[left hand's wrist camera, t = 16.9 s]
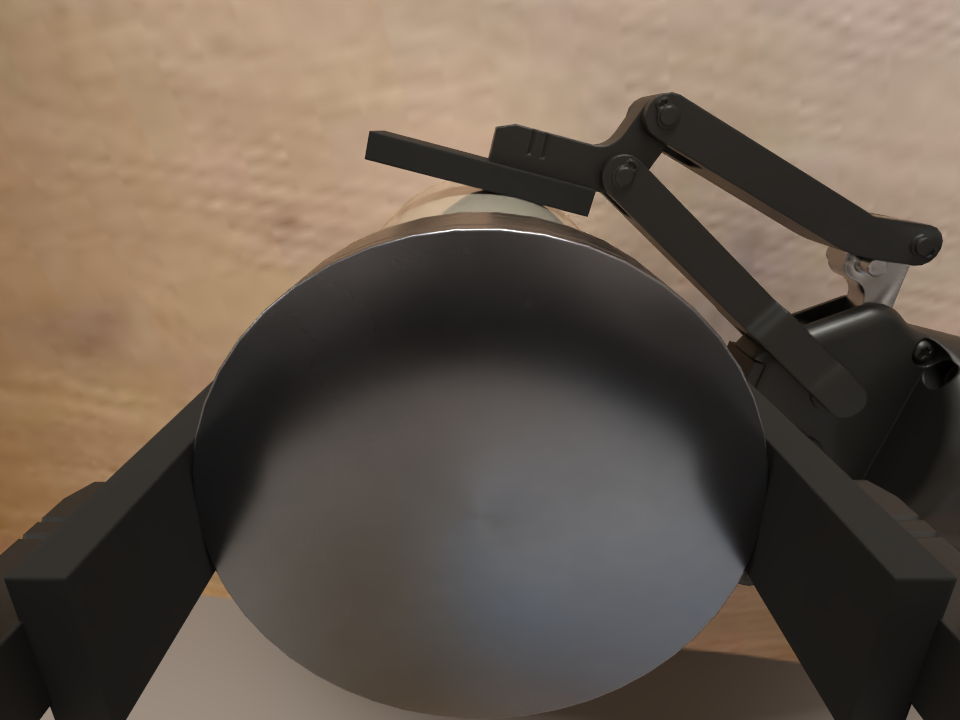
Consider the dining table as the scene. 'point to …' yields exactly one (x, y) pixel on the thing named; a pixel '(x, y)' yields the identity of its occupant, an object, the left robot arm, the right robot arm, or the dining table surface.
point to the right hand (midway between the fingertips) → (347, 302)
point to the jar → (471, 205)
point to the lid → (480, 468)
